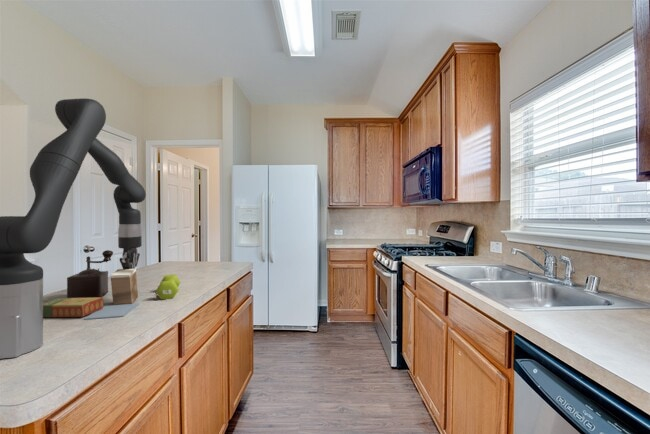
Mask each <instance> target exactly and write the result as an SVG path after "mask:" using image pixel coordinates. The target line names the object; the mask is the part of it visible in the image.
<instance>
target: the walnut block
mask: <svg viewBox="0 0 650 434" xmlns="http://www.w3.org/2000/svg"><path fill="white" fill-rule="evenodd" d="M109 277H110V284H111V285H110V286H111V294H112V296H111V297H112V305H123V304H135V302H136V301H137V299H138V298H139V294H138V293H139V291H138V279H137V278H138V277H137V269H136V268H135V269H123V268H119V269H116V270H115V271H114V272H112V274H111V275H110V276H109Z"/></svg>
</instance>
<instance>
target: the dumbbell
mask: <svg viewBox="0 0 650 434" xmlns="http://www.w3.org/2000/svg"><path fill="white" fill-rule="evenodd" d="M180 284H181V280H180V278H179V276H177V275H176V274H166V275H164V276H163V278H162V279H161V281H160V283H159V285H158V287H157V288H156V290H155V293H156V295H157V296H158V298H159V299H160V300H164V301H165V300H172V299H174V298H175V296H176V295H177V293H178V292H179V286H180Z"/></svg>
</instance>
